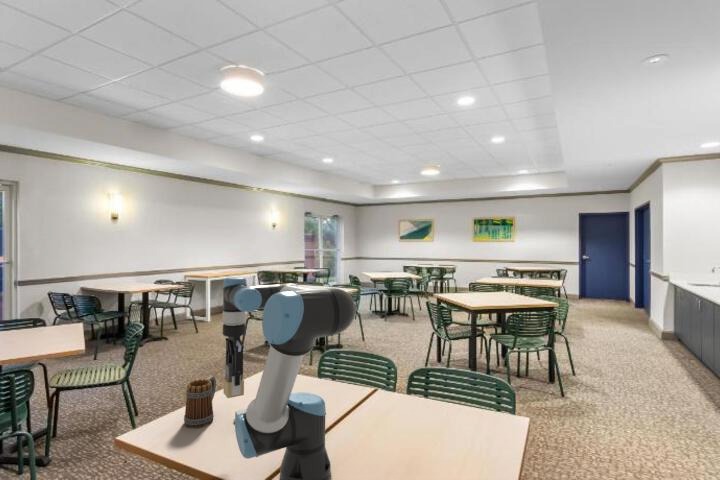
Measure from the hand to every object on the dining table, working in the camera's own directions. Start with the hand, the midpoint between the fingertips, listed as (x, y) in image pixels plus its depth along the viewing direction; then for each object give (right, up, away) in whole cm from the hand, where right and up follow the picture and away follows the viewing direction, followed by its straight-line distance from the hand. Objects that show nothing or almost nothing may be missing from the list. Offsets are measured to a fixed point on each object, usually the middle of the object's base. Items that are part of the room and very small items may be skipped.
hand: (233, 391), depth 135 cm
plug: (0, -1, 0) cm, 1 cm away
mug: (-19, -19, +20) cm, 33 cm away
